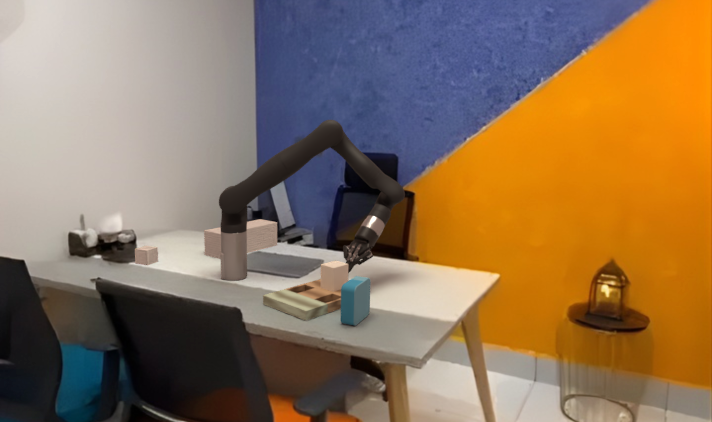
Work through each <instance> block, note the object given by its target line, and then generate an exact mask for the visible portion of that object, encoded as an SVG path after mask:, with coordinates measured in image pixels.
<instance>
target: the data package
mask: <svg viewBox="0 0 712 422" xmlns="http://www.w3.org/2000/svg"><path fill="white" fill-rule="evenodd" d="M371 282H372V281H371V278H370V277H367V276H365V277H364V276H359V275H355V276H354V277H353V278H351V279H348V282H346V283H344V284H343V285H342V288H341V309H340V323H341V324H344V325H349V326H355V327H356V326H357V325H359V323H361V322H362V321H363V320H365V318H366V317H368V316H369V314H370V309H371V307H370V306H371Z"/></svg>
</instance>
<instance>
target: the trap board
mask: <svg viewBox="0 0 712 422" xmlns="http://www.w3.org/2000/svg"><path fill="white" fill-rule="evenodd" d="M320 286H321V278H319V279H316V280H312V281H308V282H305V283H302V284H299V285H298V284H297V285H295V286H292V287H287V288H284V289H280V290H277V291H273V292H270V293H266V294H263V295H262V297H263V298H262V302H263V303H262V304H263V305H264V306H267V307H269V308H272V309H274V310H278V311H280V312H283V313H284V314H285V313H286V314H287V315H290V316H293V317H295V318H297V319H300V320H303V321H309V320H312V319H315V318H318V317H321V316H324V315H327V314H330V313H333V312H334V311H338V310H341V290H337V291H334V292H332V291H329V290H326V289H323V288H320Z"/></svg>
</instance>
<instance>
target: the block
mask: <svg viewBox="0 0 712 422" xmlns="http://www.w3.org/2000/svg"><path fill="white" fill-rule="evenodd" d="M348 265H349V264H346V262H343V261H338V260H332V261H329V262H325V263H322V264H320V279H321V286H320V288H323V289H326V290H329V291H332V292H334V291H337V290H341V288H342V285H343V284H344V283H346V282H348V281H349V273H348Z"/></svg>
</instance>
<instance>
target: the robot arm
mask: <svg viewBox="0 0 712 422" xmlns="http://www.w3.org/2000/svg"><path fill="white" fill-rule="evenodd" d="M328 149H331V150H333V151H334V152H336V153H337V154H339V156H341V158H342V159H344V161H345V162H346V163H347V164H348V165H349V167H351V169H353V171H354V172H355V174H357V175H358V176H359V177H360V179H362V181H363V182H364V183H366V185H368V187H370V188H371V189H373V190H374V189H377V190H379V191H380V193H379V195H378V197H377V199H376V201H375V203H374V206H373V207H372V209H371V210H370V212H369V213H368V215H367V216H366V218H365V219H364V220H363V222H362V223H361V225H360V227H359V228H358V230H357V231H356V233H355V235H354V239H353V240H352V241H351V242H350V244H349V245H346V244H344V245H343V246H342V250H343V251H342V252H343V253H342V254H343V258H344V260H345V263H346V264H349V265H348V274H350V273H351V272H352V270H353V268H354V267H355V266H356V265H358V266H360V265H362V264H364V263H365V262H367V261H369V260H371V259H372V258H373V257H374V255H373V253H372V249H373V247H375V245H376V243H377V242H378V240H379V239H380V236H381V235H382V234H383V231H384V228H385V227H386V225H387V223H388V222H389V220H390V218H391V215H392V213H391V212H392V210H393V208H394V207H395V206H396V205H397V204H399V203H402V202H403V201H404V200H405V195H406V193H405V190H404V187H403V186H402V184H400V183H399V182H398V181H396V180H395V179H393V178H392V177H390V176H389V175H387V174H385V173H384V172H383V170H381V168H380V167H378V166H377V164H375V163H374V162H373V161H372V160H371V158H369V157H368V156H367V155H366V154H364V153H363V152H362V151H361V150H360V149H359V148H358V147H357V146H356V145H355V144H354V143H353V142H352V141H351V140H350V138H349V137H348V135H347V134H346V133H345V132H344V128H343V125H342V124H341V123H340V122H338V121H337V120H335V119H326V120H324V121H322V122H321V123H319V125H318V126H317V127H316V128H315V129H313V130H312V131H311V132H310V133H308V135H306V136H305V137H303V138H302V139H301V140H299V141H297V142H295V143H294V144H291V145H290V146H287V147H286V148H284V149H282V150H280V151H279V152H278V153H276V154H274V155H273V156H272V157H270V158H269V159H268V160H266V161H265V162H264V163H262V165H260V166H259V167H258V168H257V169H256V170H255V171H254V172H253V173H251V175H249V176H248V177H247V178H245V179H244V180H242V181H240V182H239V183H237V184H235V185H229V186H227V187H226V188H225V189H224V190H223V191H222V192H221V193H220V196H219V197H218V206H219V209H220V210H221V219H220V227H221V259H220V280H227V281H239V280H243V279H246V278H248V253H247V222H248V205H249V204H250V203H251V202H253V201H254V200H255V199H256V198H257V197H259V196H261V195H262V194H263V193H265V192H268V191H270V190H271V189H273V188H275V187H277V186H278V185H279V184H281V183H283V182H284V181H286V180H287V179H289V178H290V177H292V176H293V175H295V174H296V173H297V172H298V171H300V170H301V169H302V168H303V167H305V165H307V164H308V163H309V162H310V161H311V160H313V158H315V157H316V156H319V154H322V153H323V152H325V151H326V150H328Z"/></svg>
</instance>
